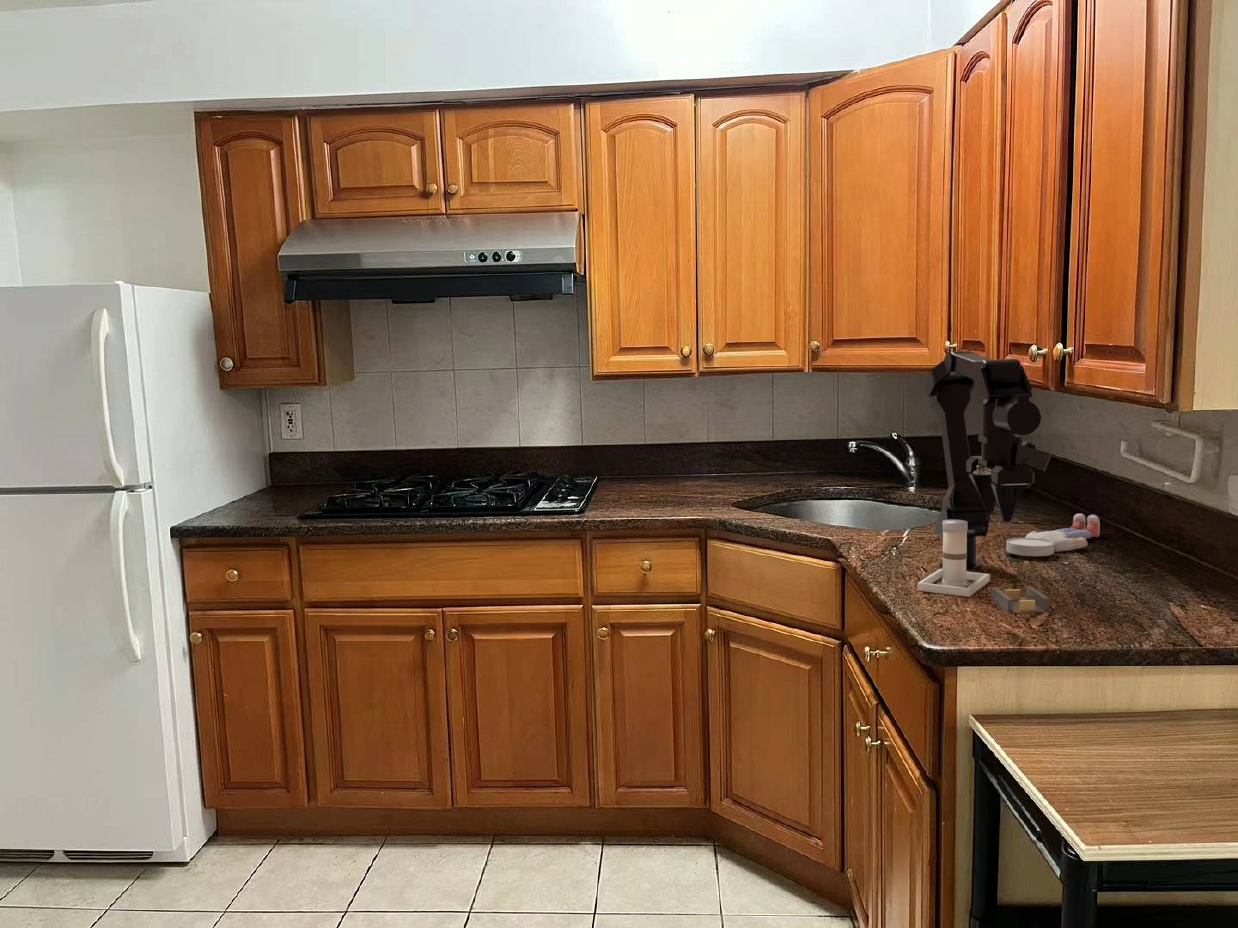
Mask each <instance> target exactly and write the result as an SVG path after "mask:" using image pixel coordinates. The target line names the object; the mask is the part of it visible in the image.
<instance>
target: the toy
mask: <svg viewBox="0 0 1238 928" xmlns="http://www.w3.org/2000/svg"><path fill="white" fill-rule="evenodd" d="M1072 519H1073V520H1072V526H1070V527H1069V528H1060V529H1059V528H1058V529H1055V530H1045V531H1039V532H1038V531H1035V530H1033V531H1030V532H1029V533H1027V534H1026V536H1025V537H1013V538H1009V539H1007V540H1006V541H1005V542H1006V544H1005V545H1006V547H1005V548H1006V552H1007V553H1009V554H1013V555H1017V556H1024V557H1048V556H1052V555H1053V554H1054V553H1055V552H1057V553H1058V552H1059V553H1060V552H1069V551H1073V550H1079V549H1084V548H1086V547H1088V541H1087V540H1089V539H1092V537H1097V538H1099V536H1100V529H1101V527H1100V526H1101V524H1100V523H1101V522H1100V518H1099V516H1098V515H1096V514H1089V515H1088V516H1087V517H1086V515H1085V514H1083V513H1076V514H1074V515H1073V518H1072ZM1086 523H1087V524H1086Z"/></svg>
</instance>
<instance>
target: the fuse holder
mask: <svg viewBox="0 0 1238 928" xmlns="http://www.w3.org/2000/svg"><path fill="white" fill-rule="evenodd" d="M990 590H991V592H990V595H991V596H990V597H988V598H989V600H991V601H992V602H993V603H994V604H996V605H997V606H998V607H999V608H1000V609H1002V610H1004V612H1006V613H1007V614H1012V613H1013V614H1017V613H1020V614H1021V613H1022V614H1023V613H1025V614H1026V613H1052V612H1053V611H1052V610H1051V609H1050V600H1051V599H1050V598H1049V596H1046V594H1044V593H1042V592H1040V591H1039V590H1037V589H1036V588H1035V587H1033V586H1031V585H1029V586H1028V585H1026V586H1025V596H1021V589H1017V588H1013V589H1004V592H1003V590H1001V589H999V588H998V587H997V586H991V588H990Z"/></svg>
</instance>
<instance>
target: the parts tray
mask: <svg viewBox="0 0 1238 928" xmlns="http://www.w3.org/2000/svg"><path fill="white" fill-rule="evenodd" d="M941 578H943V568H939V569H937V570H935V571H934V572H933V573H931V574H929V575H927V576H926V577H924V579H922V580H920V581H918V582H917V585H916V586H917V591H919V592H927V593H934V594H941V595H942V594H944V595H951V596H960V597H967V598H968V597H969V598H970V597H971V596H972V595H973V594H975V593H977V591H979V590H980V589H982V588H983V587H984V586H985V585H987V584H988V583H990V579H991V575H990V573H983V572H982V573H981V572H973V571H966V579H967V581H974V582H972V583H971V584H970V585H969V586H967V587H966V588H963V587H954V586H946V585H942V584H936V583H935V582H936V581H938V580H940V579H941Z"/></svg>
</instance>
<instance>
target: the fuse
mask: <svg viewBox="0 0 1238 928" xmlns="http://www.w3.org/2000/svg"><path fill="white" fill-rule="evenodd" d="M967 529H968V522H967V521H964V520H944V521H943V537H942V563H943V567H942V569H943V577H941V578H942V579H941V585H946V586H954V587H963V588H967V587H968V585H967V584H968V580H967V579H966V572H967V569H966V559H967Z"/></svg>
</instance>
